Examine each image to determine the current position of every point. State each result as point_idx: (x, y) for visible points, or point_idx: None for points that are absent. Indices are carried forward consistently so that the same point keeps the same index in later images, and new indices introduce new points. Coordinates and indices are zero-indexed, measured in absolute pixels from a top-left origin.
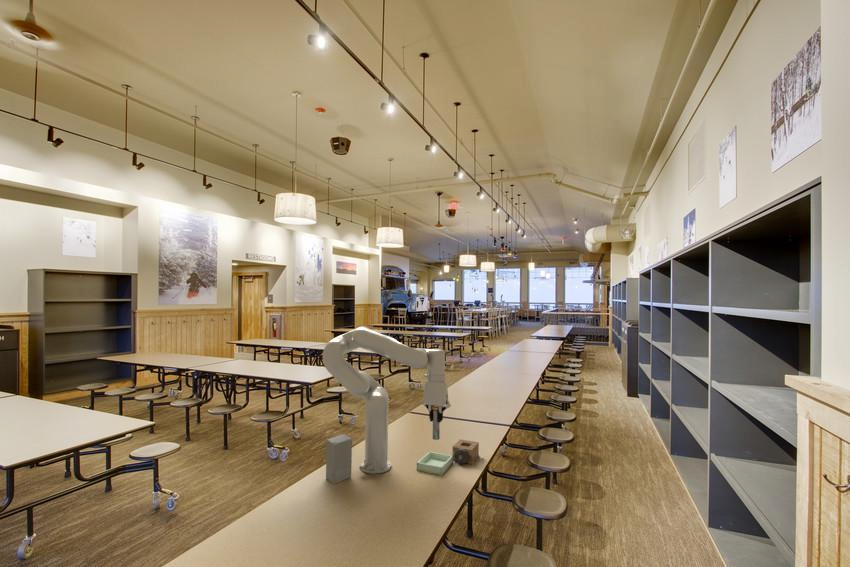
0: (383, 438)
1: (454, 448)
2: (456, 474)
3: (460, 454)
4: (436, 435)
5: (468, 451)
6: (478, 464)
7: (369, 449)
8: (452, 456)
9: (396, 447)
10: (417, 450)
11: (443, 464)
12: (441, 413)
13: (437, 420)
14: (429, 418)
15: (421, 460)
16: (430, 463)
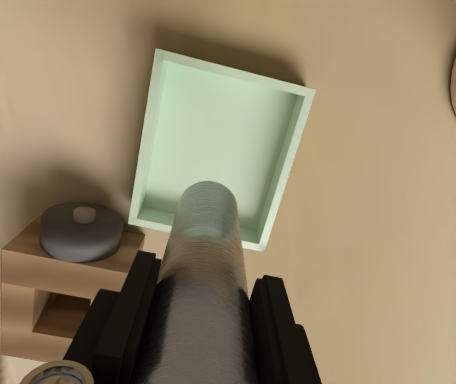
0: None
1: (118, 266)
2: (87, 78)
3: (80, 225)
4: (197, 196)
5: (31, 247)
6: (11, 217)
7: None
8: (129, 217)
9: (433, 316)
10: (329, 305)
11: (154, 96)
12: (56, 370)
13: (169, 283)
14: (299, 325)
15: (292, 134)
16: (243, 164)
